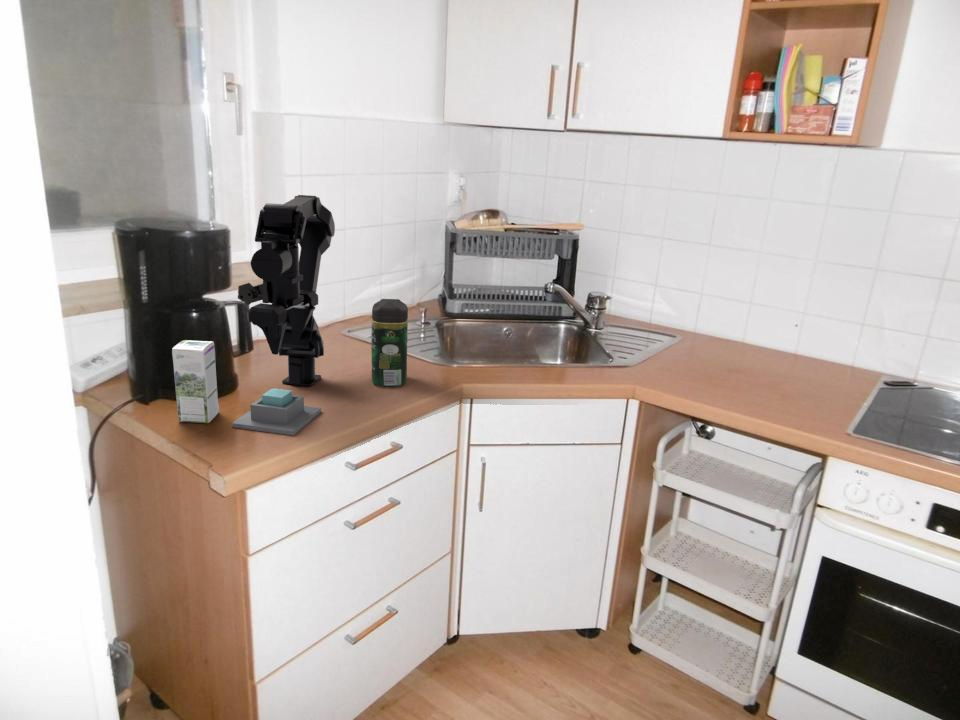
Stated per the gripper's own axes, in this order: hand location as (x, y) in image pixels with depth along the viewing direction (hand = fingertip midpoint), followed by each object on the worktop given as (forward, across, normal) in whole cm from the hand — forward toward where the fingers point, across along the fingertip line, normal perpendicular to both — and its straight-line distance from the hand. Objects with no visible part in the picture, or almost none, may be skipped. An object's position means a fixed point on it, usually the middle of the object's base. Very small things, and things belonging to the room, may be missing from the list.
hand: (286, 347), depth 135 cm
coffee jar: (+11, -17, +16) cm, 26 cm away
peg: (+10, +10, +3) cm, 15 cm away
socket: (+11, +10, +3) cm, 15 cm away
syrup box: (+11, +14, -11) cm, 21 cm away
